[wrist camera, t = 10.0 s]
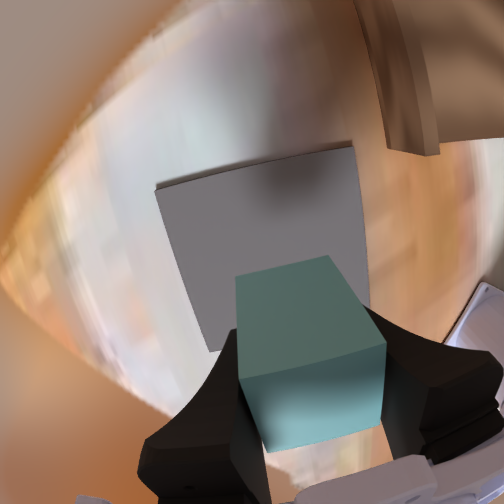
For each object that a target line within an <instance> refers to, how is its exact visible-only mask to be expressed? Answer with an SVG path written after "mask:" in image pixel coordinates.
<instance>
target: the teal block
mask: <svg viewBox="0 0 504 504" xmlns="http://www.w3.org/2000/svg"><path fill="white" fill-rule="evenodd" d="M235 288H236V320H237V348H238V374H239V381H240V384H241V387H242V389H243V392H244V395H245V397H246V400H247V403H248V405H249V408H250V411H251V413H252V416H253V418H254V421H255V424H256V426H257V429H258V431H259V434H260V436H261V439H262V441H263V444H264V446H265V449H266V451H267V453H271V452H277V451H282V450H287V449H292V448H297V447H301V446H306V445H310V444H315V443H319V442H323V441H327V440H331V439H334V438H338V437H342V436H345V435H349V434H352V433H355V432H359V431H362V430H365V429H368V428H371V427H374V426H377V425H380V418H381V409H382V400H383V389H384V378H385V363H386V345H387V342H386V341H385V339H384V337H383V336H382V334H381V333H380V331H379V330H378V328H377V326H376V325H375V323H374V322H373V320H372V319H371V317H370V316H369V314H368V313H367V311H366V310H365V308H364V307H363V305H362V304H361V302H360V301H359V299H358V298H357V296H356V295H355V293H354V292H353V290H352V289H351V287H350V286H349V284H348V283H347V281H346V280H345V278H344V277H343V275H342V274H341V272H340V271H339V270H338V268H337V267H336V265H335V264H334V262H333V261H332V259H331V258H330V257H329V255H326V256H321V257H317V258H313V259H309V260H304V261H300V262H296V263H291V264H287V265H283V266H278V267H274V268H270V269H265V270H261V271H257V272H252V273H248V274H243V275H239V276H235Z"/></svg>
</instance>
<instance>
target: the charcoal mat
mask: <svg viewBox="0 0 504 504" xmlns="http://www.w3.org/2000/svg"><path fill="white" fill-rule="evenodd" d="M154 192H155V196H156V199H157V202H158V206H159V209H160V212H161V215H162V219H163V222H164V225H165V228H166V231H167V235H168V238H169V241H170V244H171V247H172V250H173V253H174V256H175V259H176V262H177V265H178V268H179V271H180V274H181V277H182V280H183V282H184V285H185V288H186V291H187V294H188V297H189V299H190V302H191V305H192V308H193V310H194V313H195V316H196V318H197V321H198V324H199V326H200V329H201V332H202V334H203V337H204V339H205V342H206V345H207V347H208V350H209V352H214V351H220V350H222V348H223V346H224V344H225V341H226V339H227V336H228V333H229V331H230V330H231V329H235V328H237V320H236V288H235V276H239V275H243V274H248V273H252V272H257V271H261V270H265V269H270V268H274V267H278V266H283V265H287V264H291V263H296V262H300V261H304V260H309V259H313V258H317V257H321V256H326V255H329V257H330V258H331V259H332V261H333V262H334V264H335V265H336V267H337V268H338V270H339V271H340V272H341V274H342V275H343V277H344V278H345V280H346V281H347V283H348V284H349V286H350V287H351V289H352V290H353V292H354V293H355V295H356V296H357V298H358V299H359V301H360V302H361V304H363V305H364V306H366V307H367V308H369V309H370V303H369V281H368V265H367V251H366V240H365V229H364V219H363V210H362V201H361V193H360V185H359V178H358V171H357V164H356V158H355V152H354V147H353V146H349V147H343V148H337V149H331V150H326V151H320V152H314V153H309V154H304V155H299V156H293V157H288V158H284V159H279V160H274V161H269V162H265V163H260V164H255V165H251V166H247V167H242V168H238V169H234V170H229V171H225V172H221V173H217V174H213V175H209V176H205V177H201V178H197V179H194V180H190V181H186V182H182V183H179V184H175V185H171V186H168V187H164V188H161V189H157V190H155V191H154Z"/></svg>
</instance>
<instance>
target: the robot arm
mask: <svg viewBox="0 0 504 504" xmlns="http://www.w3.org/2000/svg"><path fill="white" fill-rule="evenodd" d="M362 305H363V304H362ZM363 307H364V308H365V310H366V311H367V313H368V314H369V316H370V317H371V319H372V320H373V322H374V323H375V325H376V326H377V328H378V330H379V331H380V333H381V334H382V336H383V337H384V339H385V341H386V342H387V345H386V363H385V378H384V389H383V400H382V409H381V418H380V419H381V422H382V425H383V428H384V431H385V434H386V437H387V440H388V443H389V446H390V449H391V453H392V456H393V459H394V460H393V461H390V462H388V463H385V464H382V465H379V466H376V467H373V468H370V469H367V470H364V471H361V472H357V473H354V474H350V475H347V476H343V477H340V478H336V479H332V480H328V481H324V482H322V483H319V484H316V485H312V486H309V487H308V488H306V489H304V490H303V491H301V492H299V493H298V494H297V495H296V497H295V500H294V501H292V502H286V503H281V504H488V503H489V502H491V501H492V500H494V499H495V498H496V497H498V496H499V495H501V494H502V493H503V492H504V292H503V291H502V290H500V289H498V288H496V287H494V286H492V285H490V284H488V283H486V282H481V283H480V284H479V286H478V288H477V290H476V292H475V293H474V295H473V297H472V299H471V300H470V302H469V304H468V306H467V307H466V309H465V311H464V312H463V314H462V316H461V317H460V319H459V321H458V322H457V324H456V325H455V327H454V329H453V330H452V332H451V333H450V335H449V336H448V338H447V339H446V341H445V342H444V344H442V343H438V342H435V341H431V340H429V339H426V338H423V337H421V336H418V335H416V334H413V333H411V332H409V331H407V330H405V329H403V328H401V327H399V326H397V325H395V324H393V323H391V322H390V321H388V320H386V319H384V318H383V317H381V316H380V315H378V314H376V313H375V312H373V311H372V310H370V309H369V308H367V307H366V306H364V305H363ZM498 407H499V409H500V411H499V410H498V409H497V408H498ZM137 474H138V477H139V479H140V480H141V481H142V482H143V483H144V484H145V485H146V486H147V487H148V488H149V489H150V490H151V491H152V492H154V493H155V494H156V495H157V496H158V497H159V499H158V504H272V501H271V496H270V491H269V485H268V478H267V473H266V466H265V460H264V453H263V446H262V439H261V436H260V434H259V431H258V429H257V426H256V424H255V421H254V418H253V416H252V413H251V411H250V408H249V405H248V403H247V400H246V397H245V395H244V392H243V389H242V387H241V384H240V381H239V374H238V348H237V328H235V329H231V330H230V331H229V333H228V336H227V339H226V341H225V344H224V346H223V348H222V351H221V353H220V355H219V357H218V359H217V361H216V363H215V365H214V367H213V368H212V370H211V372H210V374H209V375H208V377H207V379H206V380H205V382H204V383H203V385H202V386H201V388H200V389H199V390H198V392H197V393H196V394H195V396H194V397H193V398H192V399H191V400H190V402H189V403H188V404H187V405H186V406H185V407H184V408H183V409H182V410H181V411H180V412H179V413H178V414H177V415H176V416H175V417H174V418H173V419H172V420H171V421H169V422H168V423H167V424H166V425H165V426H163V427H162V428H161V429H159V430H158V431H157V432H155V433H154V434H153V435H151V436H150V437H148V438H147V439H145V442H144V445H143V448H142V451H141V455H140V460H139V465H138V471H137ZM75 504H112V503H111V502H110V501H107V500H105V499H103V498H98V497H91V496H85V495H77V498H76V502H75Z"/></svg>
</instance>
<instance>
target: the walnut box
mask: <svg viewBox="0 0 504 504" xmlns="http://www.w3.org/2000/svg"><path fill="white" fill-rule="evenodd" d="M353 1H354V4H355V7H356V10H357V13H358V17H359V20H360V23H361V27H362V30H363V34H364V37H365V41H366V45H367V48H368V52H369V56H370V60H371V65H372V69H373V73H374V77H375V82H376V87H377V91H378V96H379V101H380V107H381V112H382V118H383V124H384V130H385V136H386V142H387V148H388V149H393V150H398V151H403V152H408V153H412V154H417V155H422V156H432V155H439V154H440V148H439V143H445V142H455V141H465V140H476V139H489V138H504V0H353Z"/></svg>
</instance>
